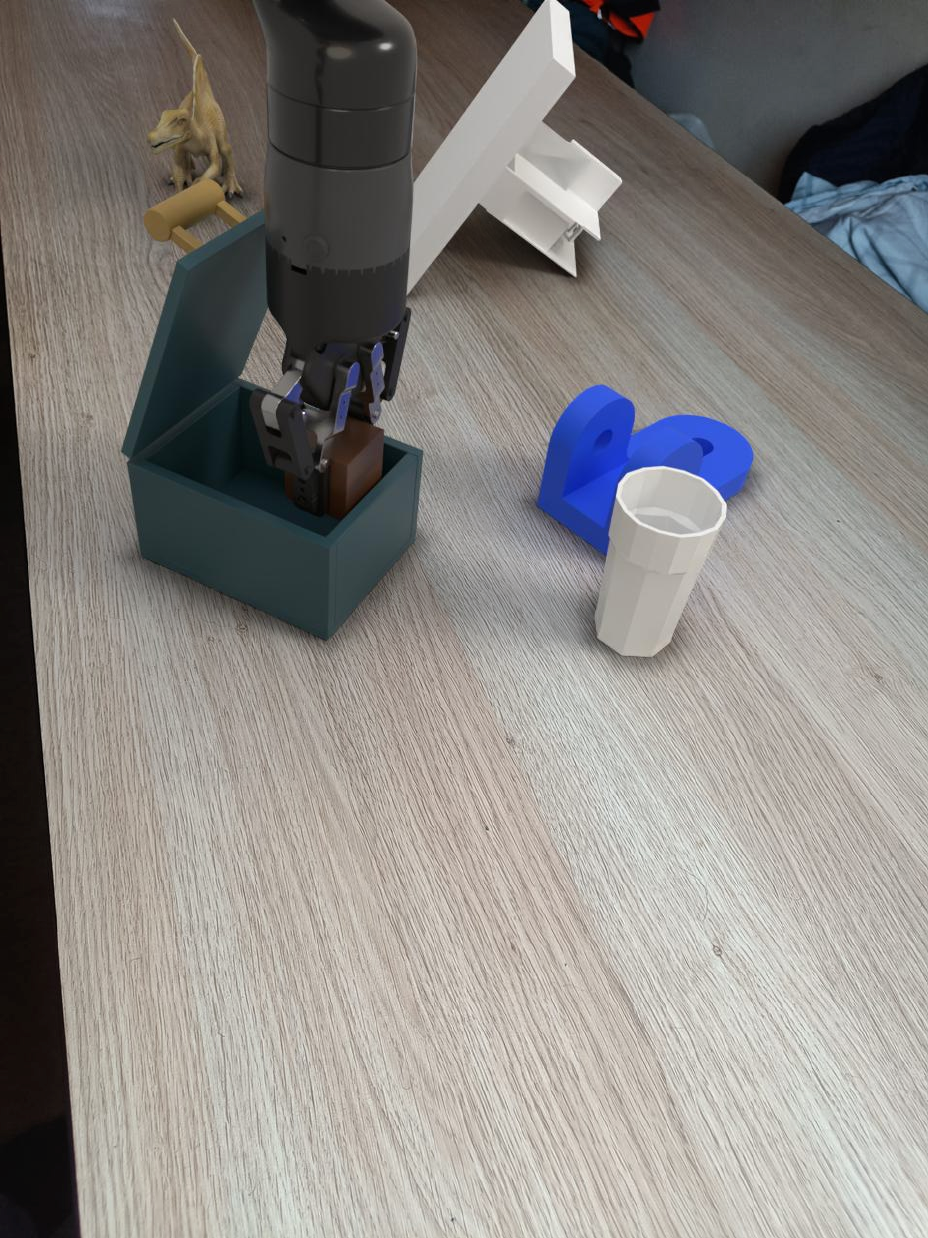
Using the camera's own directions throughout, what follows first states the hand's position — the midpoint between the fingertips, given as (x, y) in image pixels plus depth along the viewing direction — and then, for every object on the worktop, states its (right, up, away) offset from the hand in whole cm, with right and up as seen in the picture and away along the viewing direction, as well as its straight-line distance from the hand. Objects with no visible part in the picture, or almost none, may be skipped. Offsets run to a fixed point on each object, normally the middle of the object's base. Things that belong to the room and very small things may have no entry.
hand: (333, 487), depth 67 cm
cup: (+19, -9, +4) cm, 22 cm away
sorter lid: (-6, +9, -4) cm, 11 cm away
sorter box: (-4, -3, +6) cm, 8 cm away
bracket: (+23, +2, +15) cm, 28 cm away
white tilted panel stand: (+12, +29, +41) cm, 51 cm away
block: (0, 0, 0) cm, 0 cm away
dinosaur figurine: (-19, +36, +43) cm, 59 cm away
